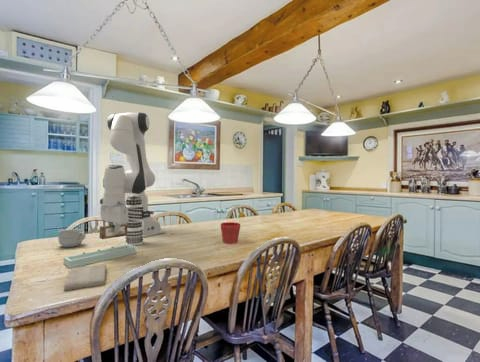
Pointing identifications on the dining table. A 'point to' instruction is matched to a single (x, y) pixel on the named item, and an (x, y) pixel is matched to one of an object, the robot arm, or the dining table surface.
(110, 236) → the wooden block
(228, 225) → the flower pot
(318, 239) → the dining table surface
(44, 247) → the dining table surface
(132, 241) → the decorative candle
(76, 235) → the teacup
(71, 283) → the washcloth
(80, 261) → the ledge
